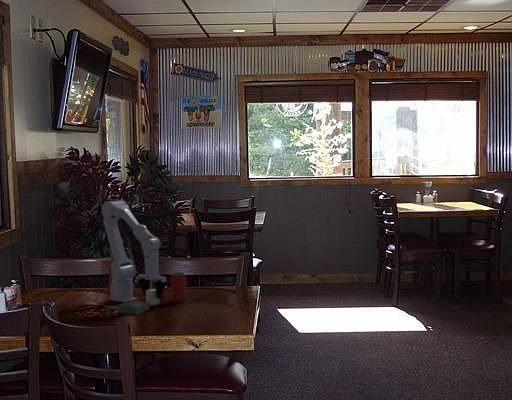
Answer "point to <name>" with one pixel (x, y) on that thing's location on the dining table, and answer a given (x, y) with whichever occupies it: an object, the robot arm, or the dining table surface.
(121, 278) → the robot arm
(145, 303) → the plate
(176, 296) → the beer can
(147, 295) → the cream block
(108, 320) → the dining table surface
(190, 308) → the dining table surface
